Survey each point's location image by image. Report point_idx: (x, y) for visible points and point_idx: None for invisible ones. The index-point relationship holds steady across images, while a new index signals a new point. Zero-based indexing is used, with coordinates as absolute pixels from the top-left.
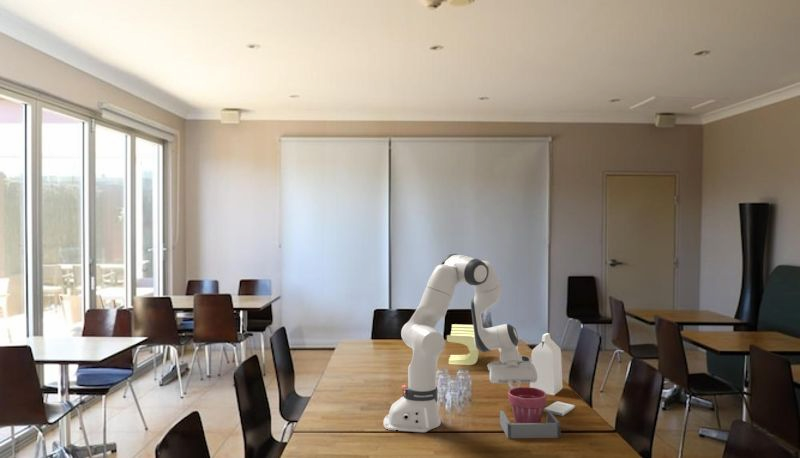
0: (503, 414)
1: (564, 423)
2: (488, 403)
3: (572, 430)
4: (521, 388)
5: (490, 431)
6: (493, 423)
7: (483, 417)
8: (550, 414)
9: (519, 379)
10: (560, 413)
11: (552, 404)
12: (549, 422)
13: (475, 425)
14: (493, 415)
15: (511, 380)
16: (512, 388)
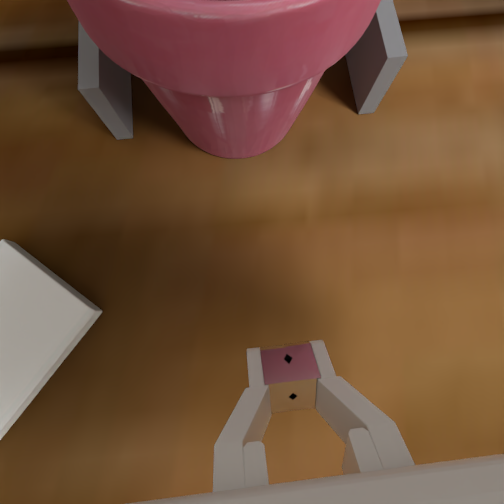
0: (384, 4)
1: (40, 140)
2: (457, 438)
3: (33, 64)
4: (260, 9)
5: (416, 25)
6: (406, 111)
7: (465, 184)
8: None
9: (229, 491)
10: (11, 245)
11: (5, 407)
12: (121, 73)
13: (494, 81)
14: (411, 217)
15: (365, 465)
16: (327, 353)
